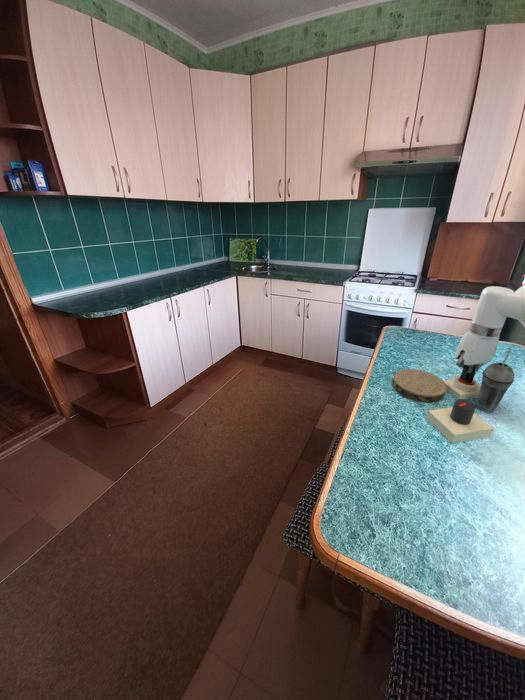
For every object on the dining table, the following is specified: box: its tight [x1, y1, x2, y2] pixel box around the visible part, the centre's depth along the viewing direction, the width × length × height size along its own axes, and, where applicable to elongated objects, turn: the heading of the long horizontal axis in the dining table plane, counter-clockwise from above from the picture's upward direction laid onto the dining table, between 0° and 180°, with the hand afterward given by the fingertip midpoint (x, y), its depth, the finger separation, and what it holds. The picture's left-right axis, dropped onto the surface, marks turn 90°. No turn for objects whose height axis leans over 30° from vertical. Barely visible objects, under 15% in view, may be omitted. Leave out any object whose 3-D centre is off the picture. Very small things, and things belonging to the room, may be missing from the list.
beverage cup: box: [475, 348, 515, 414], centre depth 84 cm, size 7×7×20 cm
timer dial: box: [450, 398, 477, 425], centre depth 79 cm, size 5×5×5 cm
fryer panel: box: [425, 406, 495, 444], centre depth 81 cm, size 12×10×3 cm
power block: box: [443, 374, 481, 400], centre depth 96 cm, size 10×8×4 cm
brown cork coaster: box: [391, 368, 447, 404], centre depth 97 cm, size 16×16×3 cm
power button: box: [459, 378, 474, 385], centre depth 95 cm, size 4×4×2 cm
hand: (465, 380), depth 95 cm, fingers closed
